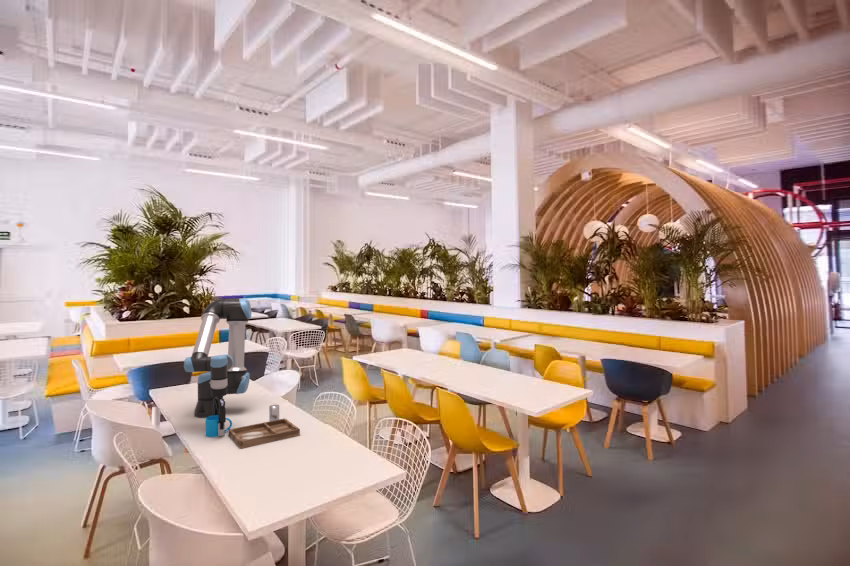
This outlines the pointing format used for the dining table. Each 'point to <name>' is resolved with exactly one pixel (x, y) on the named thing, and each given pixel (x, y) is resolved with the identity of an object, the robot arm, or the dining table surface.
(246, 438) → the tray
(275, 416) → the clear rounded cylinder
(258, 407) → the dining table surface
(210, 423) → the mug
